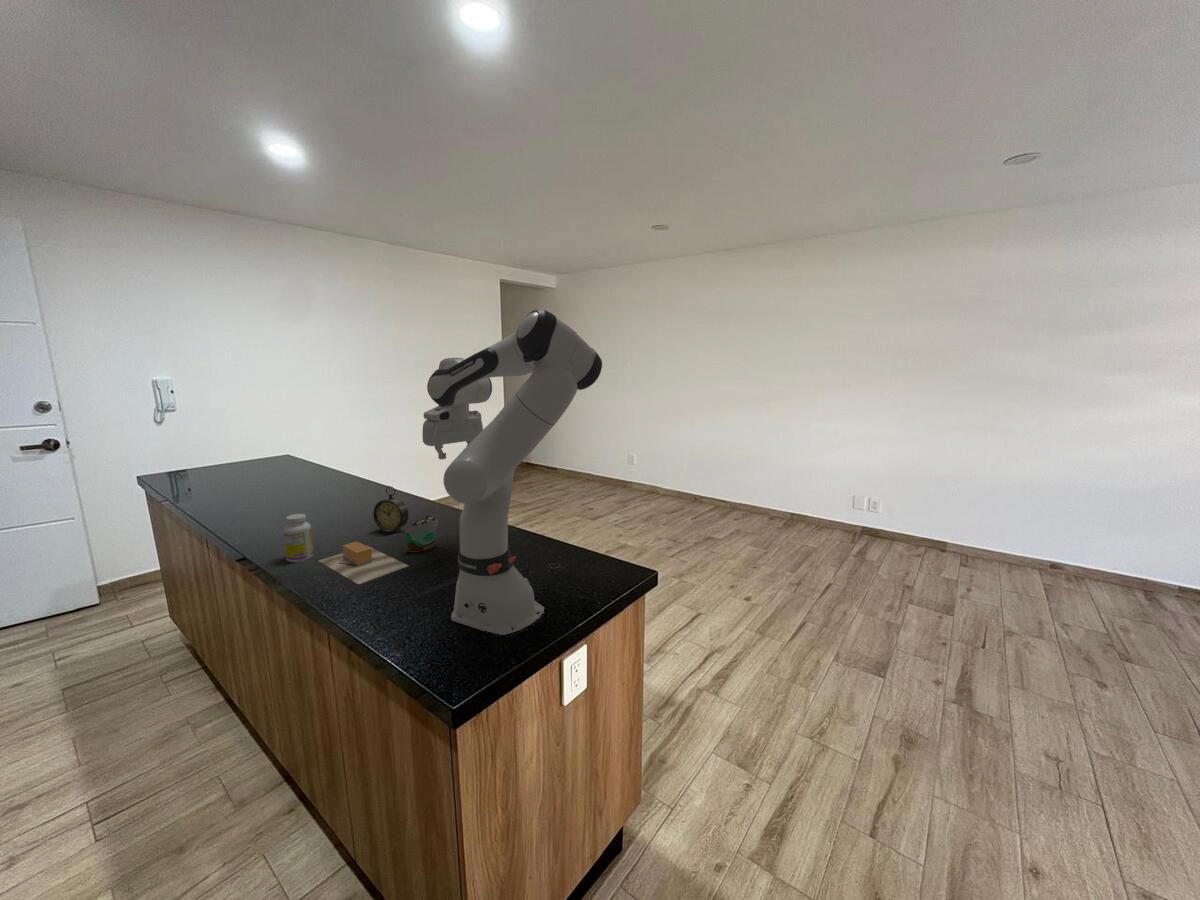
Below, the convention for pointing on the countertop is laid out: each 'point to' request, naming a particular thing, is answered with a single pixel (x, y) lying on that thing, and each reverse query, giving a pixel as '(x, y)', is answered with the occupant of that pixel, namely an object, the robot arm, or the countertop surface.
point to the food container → (421, 534)
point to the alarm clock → (390, 514)
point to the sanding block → (357, 553)
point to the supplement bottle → (298, 538)
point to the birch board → (364, 567)
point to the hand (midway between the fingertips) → (455, 456)
